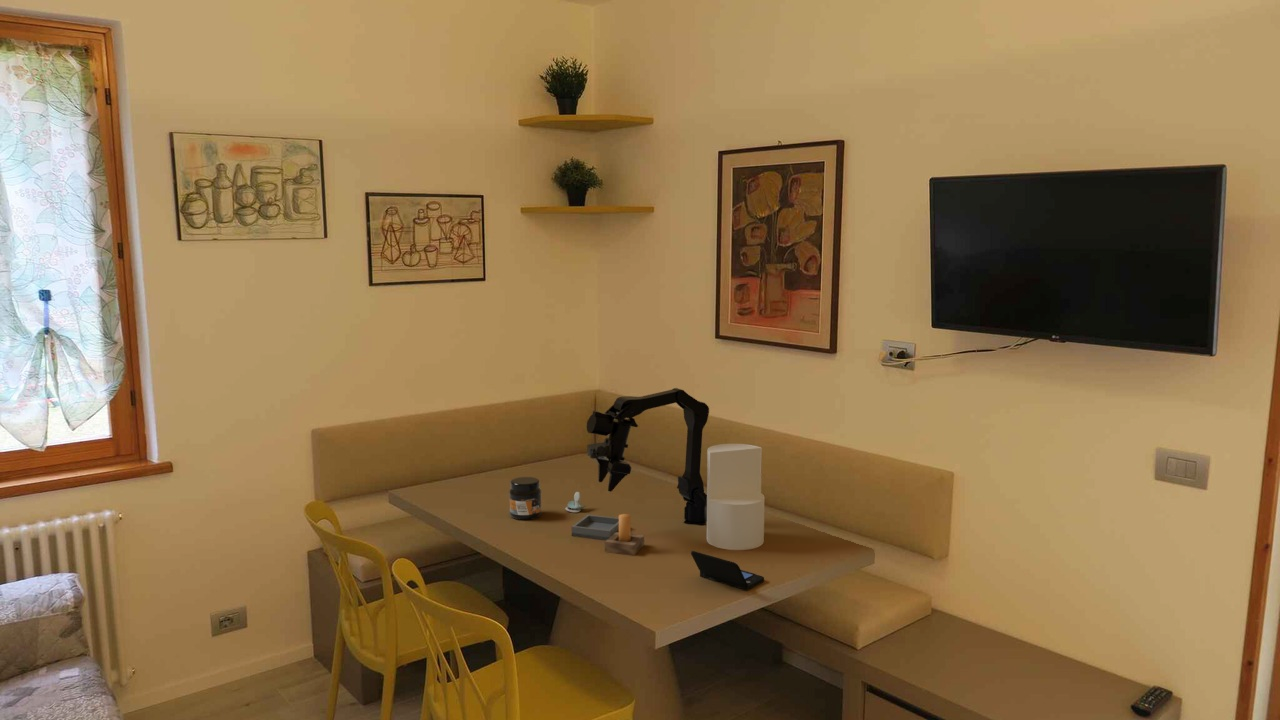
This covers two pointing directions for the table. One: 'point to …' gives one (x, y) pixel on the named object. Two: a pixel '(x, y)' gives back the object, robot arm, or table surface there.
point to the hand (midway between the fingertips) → (604, 486)
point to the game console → (725, 572)
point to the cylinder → (734, 497)
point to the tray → (596, 527)
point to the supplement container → (525, 498)
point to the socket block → (624, 544)
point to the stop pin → (625, 528)
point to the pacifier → (577, 506)
